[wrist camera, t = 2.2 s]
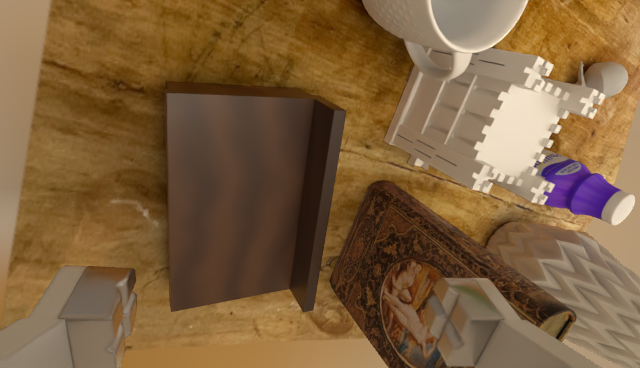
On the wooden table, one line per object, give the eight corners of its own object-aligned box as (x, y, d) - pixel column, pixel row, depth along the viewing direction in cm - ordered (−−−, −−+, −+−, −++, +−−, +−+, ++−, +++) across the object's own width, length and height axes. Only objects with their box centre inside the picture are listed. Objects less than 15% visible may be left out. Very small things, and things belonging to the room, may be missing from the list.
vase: (523, 266, 76) (740, 415, 50) (460, 291, 70) (669, 477, 43) (547, 192, 68) (818, 321, 42) (478, 212, 62) (746, 379, 36)
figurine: (555, 74, 53) (639, 48, 53) (532, 70, 58) (608, 46, 58) (557, 128, 56) (636, 104, 56) (534, 119, 61) (607, 97, 61)
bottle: (522, 132, 58) (650, 178, 44) (519, 164, 61) (638, 216, 47) (485, 149, 56) (607, 204, 42) (484, 181, 59) (597, 242, 45)
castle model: (495, 69, 50) (607, 94, 39) (446, 172, 55) (534, 222, 43) (426, 35, 44) (538, 53, 32) (377, 156, 48) (459, 210, 36)
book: (372, 177, 49) (549, 310, 29) (403, 184, 52) (583, 309, 32) (327, 283, 54) (454, 460, 34) (358, 283, 57) (491, 447, 37)
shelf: (165, 281, 42) (176, 341, 35) (160, 79, 34) (172, 105, 26) (284, 262, 49) (313, 310, 41) (304, 87, 40) (346, 110, 33)
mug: (439, 48, 45) (537, 67, 35) (361, 86, 43) (441, 119, 32) (422, -103, 37) (544, -138, 26) (324, -66, 35) (415, -88, 24)
